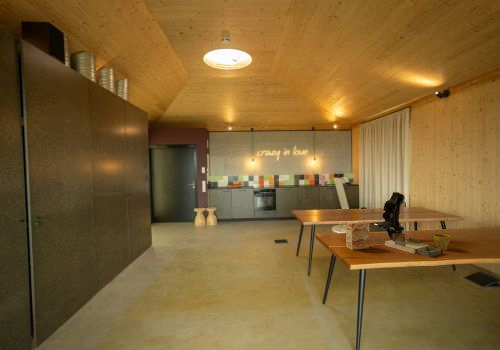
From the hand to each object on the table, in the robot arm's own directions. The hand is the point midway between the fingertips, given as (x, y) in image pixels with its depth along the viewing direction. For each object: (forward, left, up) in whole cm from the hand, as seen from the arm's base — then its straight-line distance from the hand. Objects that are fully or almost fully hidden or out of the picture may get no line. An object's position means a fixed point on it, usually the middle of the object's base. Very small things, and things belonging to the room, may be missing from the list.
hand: (390, 237), depth 205 cm
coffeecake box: (-4, -32, -5) cm, 33 cm away
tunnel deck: (+18, 0, -5) cm, 18 cm away
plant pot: (+27, +19, -5) cm, 33 cm away
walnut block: (+7, 0, -2) cm, 7 cm away
